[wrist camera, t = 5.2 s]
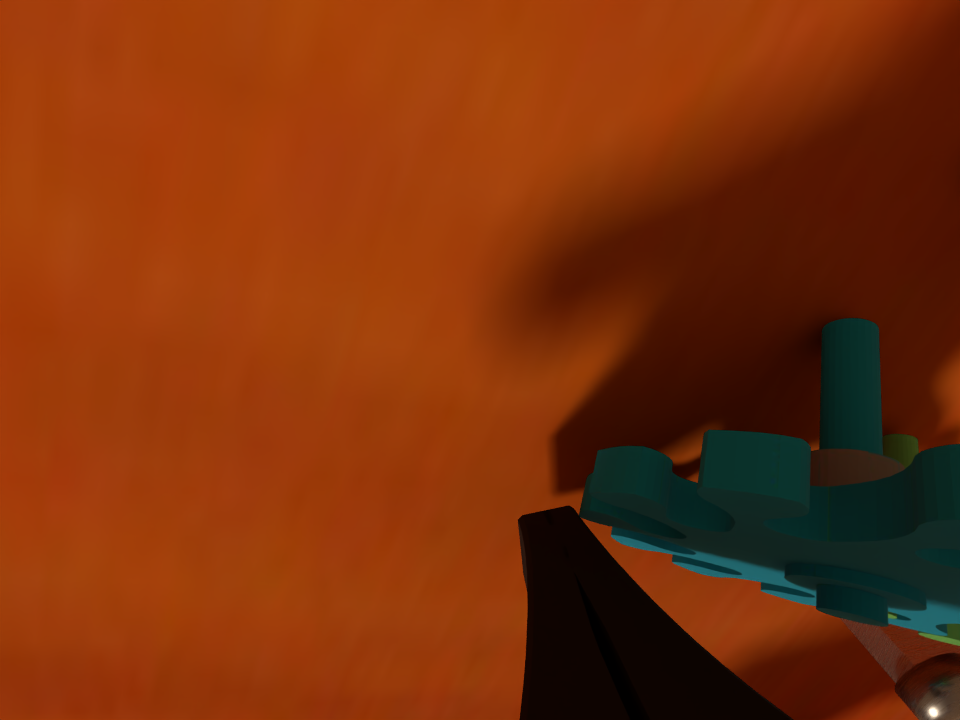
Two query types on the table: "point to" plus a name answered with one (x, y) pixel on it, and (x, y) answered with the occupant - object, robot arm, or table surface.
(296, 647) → the table surface
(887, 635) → the frame
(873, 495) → the teal cogwheel
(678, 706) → the robot arm
